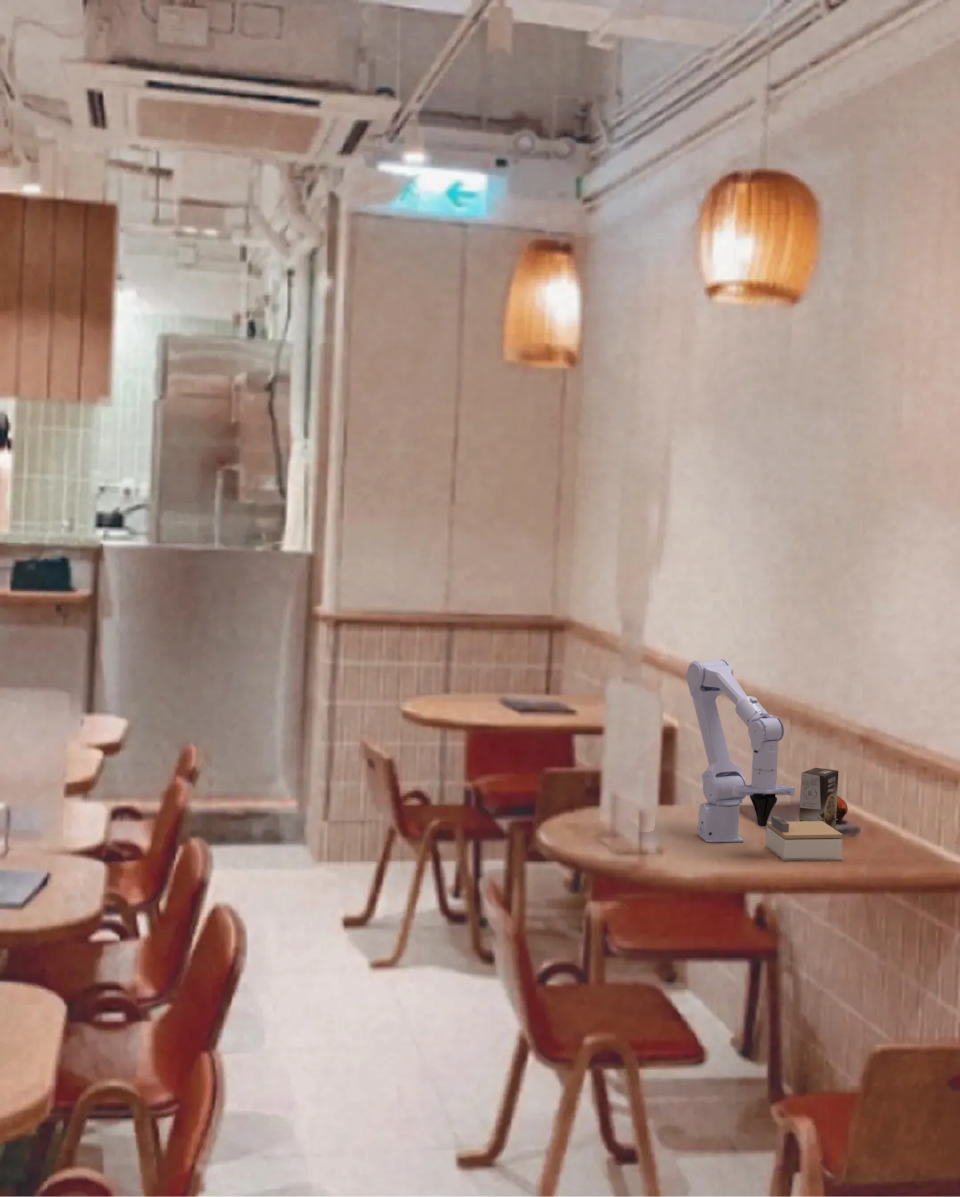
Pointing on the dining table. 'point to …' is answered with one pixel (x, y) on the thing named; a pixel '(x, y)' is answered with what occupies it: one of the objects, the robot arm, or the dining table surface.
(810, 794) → the coffee box
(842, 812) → the pomegranate
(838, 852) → the mailer base
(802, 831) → the mailer lid
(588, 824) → the dining table surface
